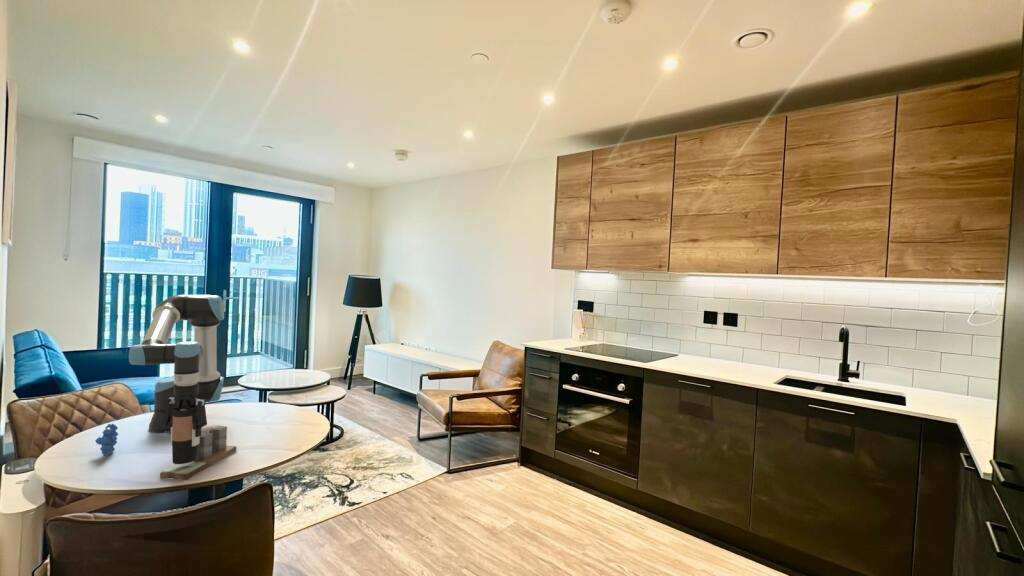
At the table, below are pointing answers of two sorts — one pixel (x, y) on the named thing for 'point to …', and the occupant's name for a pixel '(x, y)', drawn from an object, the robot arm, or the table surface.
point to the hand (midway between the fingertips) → (185, 444)
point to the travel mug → (183, 436)
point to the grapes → (108, 439)
